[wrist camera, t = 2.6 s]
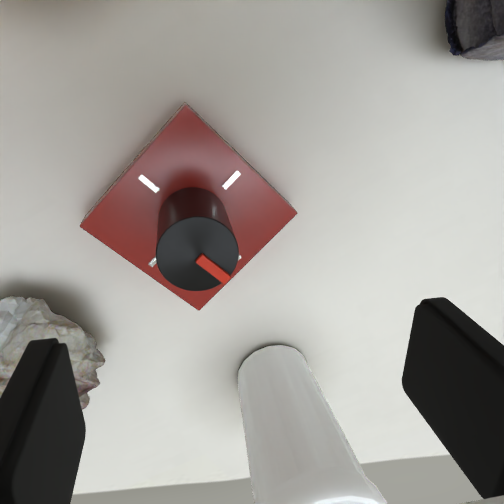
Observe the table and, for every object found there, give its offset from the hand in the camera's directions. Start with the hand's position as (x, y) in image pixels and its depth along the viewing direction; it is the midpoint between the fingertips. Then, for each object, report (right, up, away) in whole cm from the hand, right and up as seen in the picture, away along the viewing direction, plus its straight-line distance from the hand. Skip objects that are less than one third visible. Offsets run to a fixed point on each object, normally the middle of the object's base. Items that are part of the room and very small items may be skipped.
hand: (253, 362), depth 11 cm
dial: (-4, +5, +16) cm, 17 cm away
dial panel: (-4, +6, +17) cm, 19 cm away
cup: (+2, -7, +25) cm, 26 cm away
